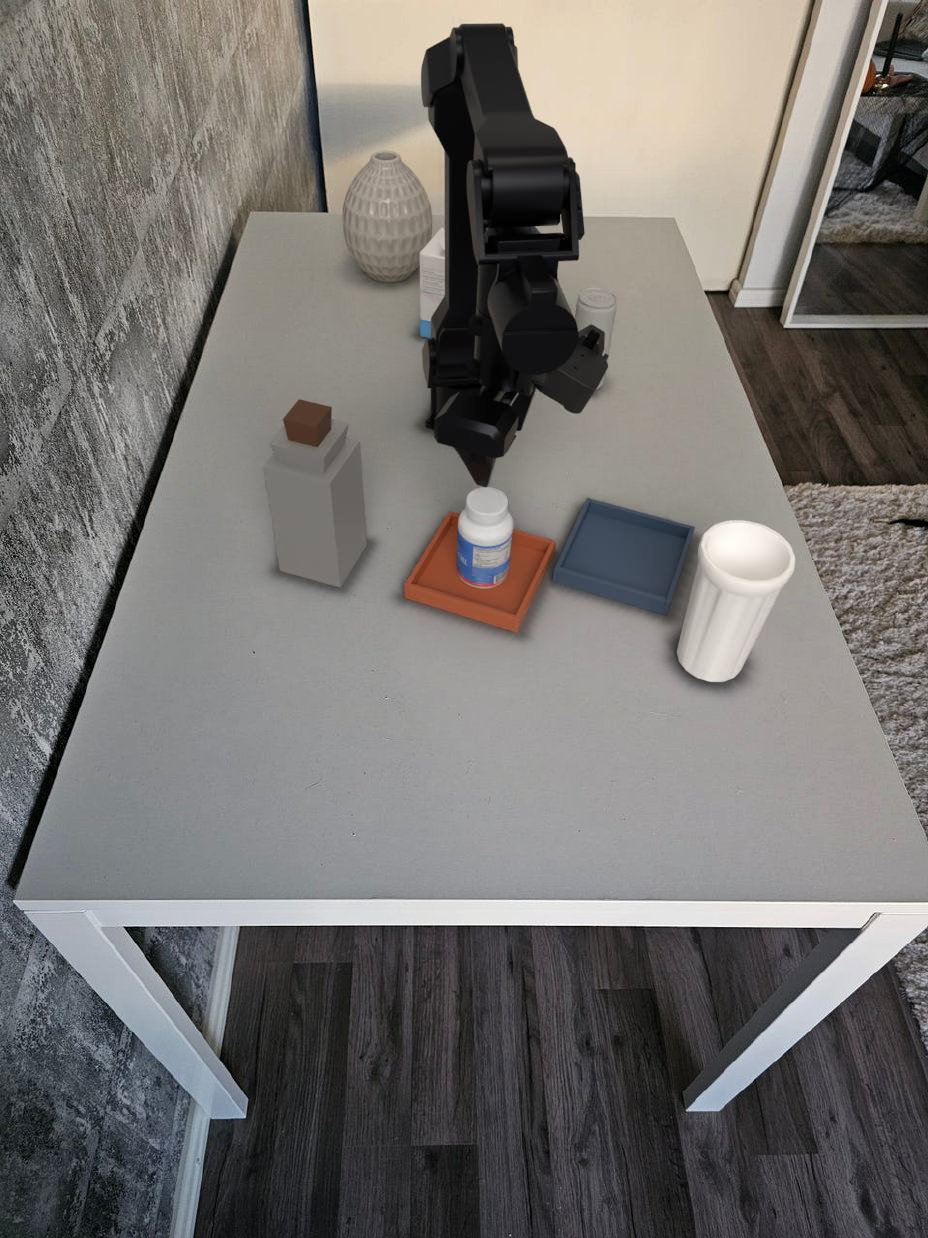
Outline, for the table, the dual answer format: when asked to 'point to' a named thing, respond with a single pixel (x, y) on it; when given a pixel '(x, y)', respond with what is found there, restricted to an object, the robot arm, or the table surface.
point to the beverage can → (597, 313)
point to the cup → (732, 596)
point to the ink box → (431, 280)
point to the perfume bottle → (316, 495)
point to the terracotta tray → (494, 605)
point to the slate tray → (624, 555)
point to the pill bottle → (484, 538)
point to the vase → (387, 218)
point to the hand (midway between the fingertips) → (499, 456)
